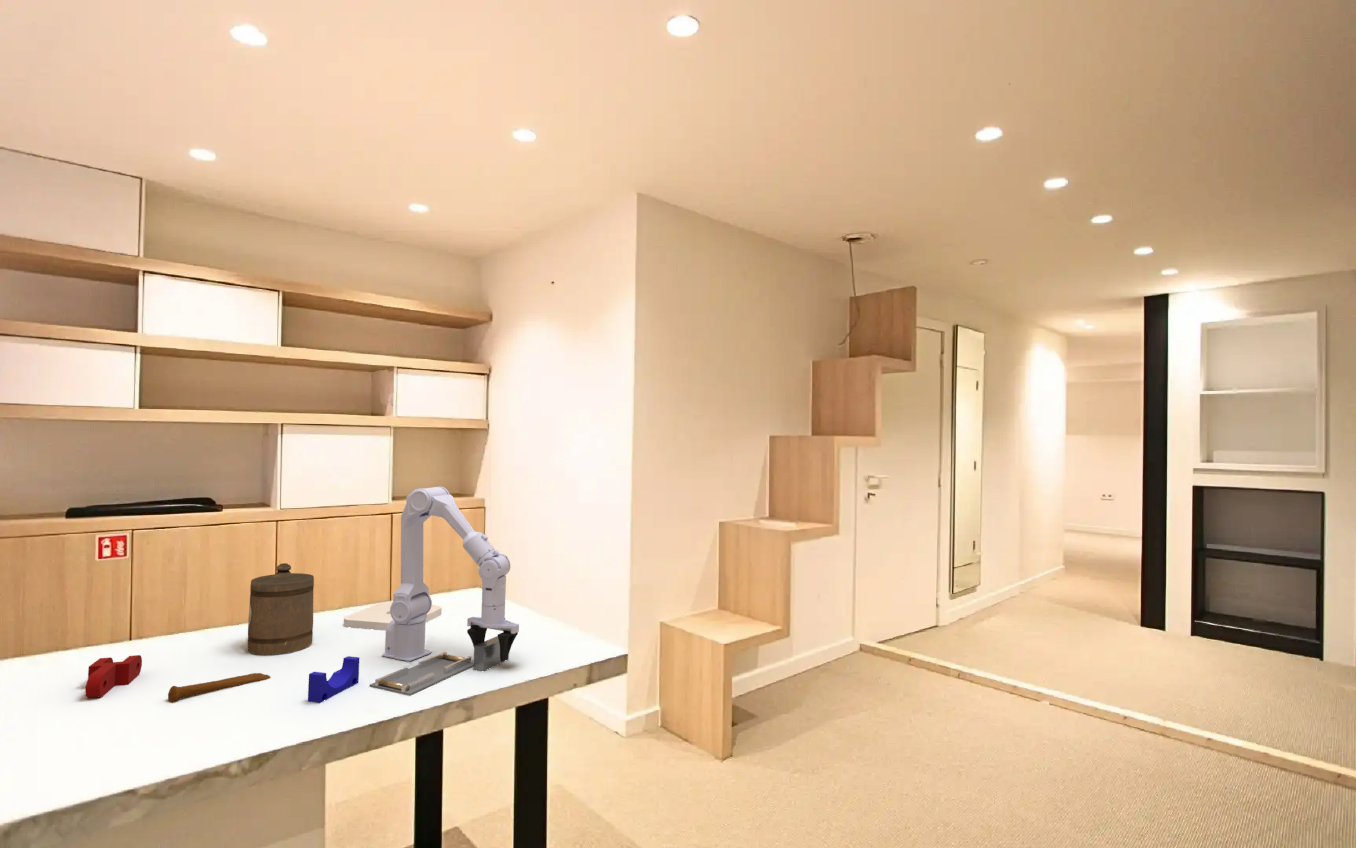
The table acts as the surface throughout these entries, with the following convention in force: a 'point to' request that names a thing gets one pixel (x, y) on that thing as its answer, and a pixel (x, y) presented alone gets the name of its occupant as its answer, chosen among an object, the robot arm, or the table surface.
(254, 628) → the wooden container
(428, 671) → the grey slide base plate
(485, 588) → the robot arm
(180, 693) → the primitive tool
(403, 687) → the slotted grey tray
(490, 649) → the dark gray rectangular chunk
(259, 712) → the table surface
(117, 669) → the mechanical linkage
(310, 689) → the blue cradle bracket
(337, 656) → the table surface
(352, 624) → the tapered beige board
